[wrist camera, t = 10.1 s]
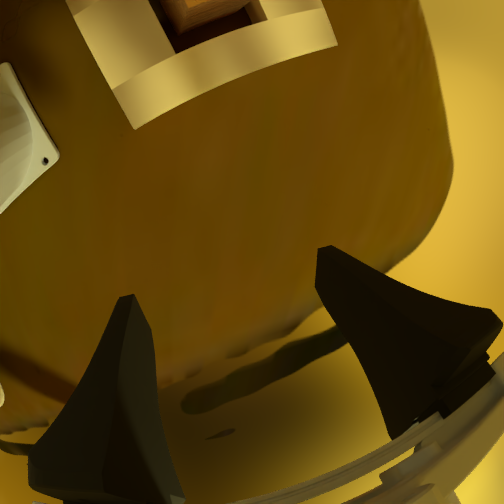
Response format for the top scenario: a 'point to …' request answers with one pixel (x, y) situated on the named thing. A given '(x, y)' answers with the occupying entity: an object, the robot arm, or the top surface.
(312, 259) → the top surface
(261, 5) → the board
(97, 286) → the top surface
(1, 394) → the dinner plate
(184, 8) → the brown wooden block
